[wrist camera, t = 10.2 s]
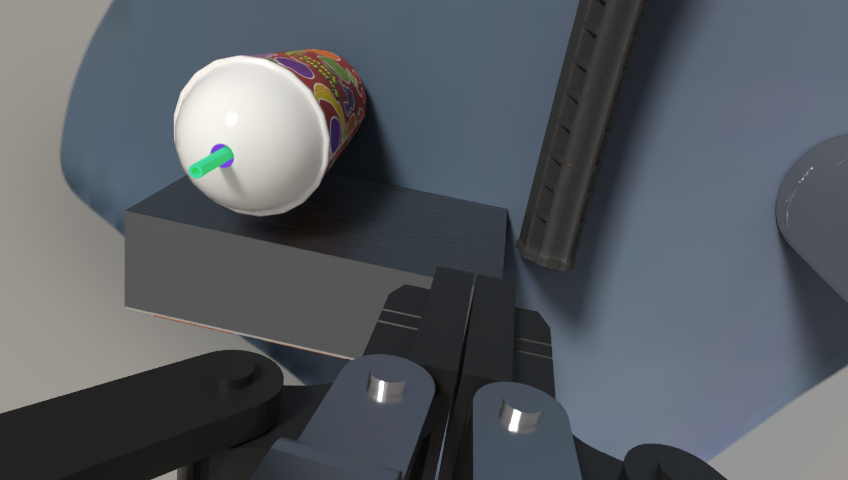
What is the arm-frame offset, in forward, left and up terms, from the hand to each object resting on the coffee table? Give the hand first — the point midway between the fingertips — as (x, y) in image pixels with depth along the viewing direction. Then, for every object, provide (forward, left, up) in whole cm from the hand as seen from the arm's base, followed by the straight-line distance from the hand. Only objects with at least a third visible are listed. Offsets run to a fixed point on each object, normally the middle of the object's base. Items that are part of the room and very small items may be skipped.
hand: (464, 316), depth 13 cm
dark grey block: (+8, +12, -35) cm, 38 cm away
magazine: (-5, -4, -35) cm, 36 cm away
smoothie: (+12, +4, -35) cm, 37 cm away
